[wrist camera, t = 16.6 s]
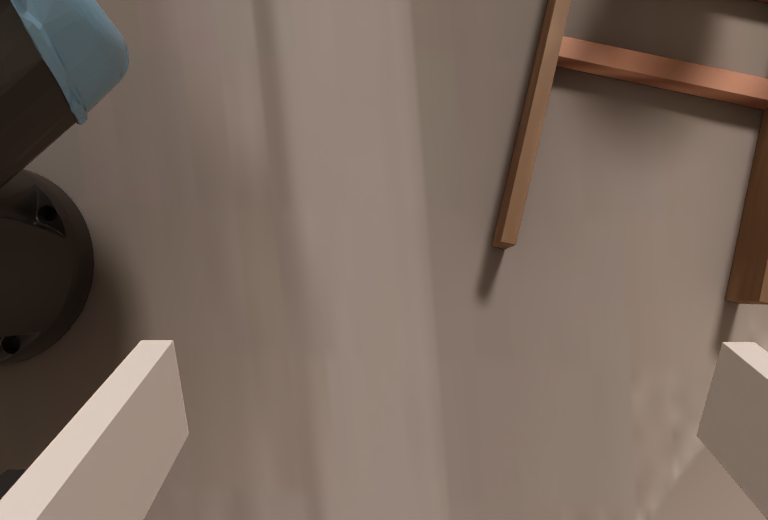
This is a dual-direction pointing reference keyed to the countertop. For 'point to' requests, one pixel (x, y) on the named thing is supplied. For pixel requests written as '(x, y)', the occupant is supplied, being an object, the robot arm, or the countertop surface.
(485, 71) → the countertop surface
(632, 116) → the countertop surface
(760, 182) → the wooden frame with crossbars
